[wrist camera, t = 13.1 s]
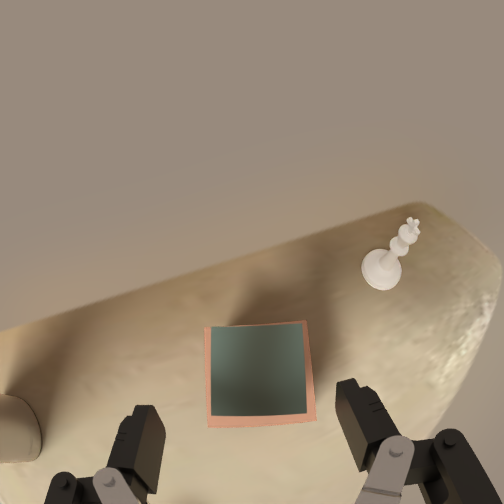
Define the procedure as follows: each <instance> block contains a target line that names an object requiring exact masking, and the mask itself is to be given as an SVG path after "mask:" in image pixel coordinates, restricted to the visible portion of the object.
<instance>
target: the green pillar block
mask: <svg viewBox="0 0 504 504" xmlns="http://www.w3.org/2000/svg"><path fill="white" fill-rule="evenodd" d="M305 413H307V398H306V376H305V358H304V342H303V328H302V323H298V324H281V325H260V326H229V327H211V416H275V415H292V414H305Z"/></svg>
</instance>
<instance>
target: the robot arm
mask: <svg viewBox="0 0 504 504" xmlns="http://www.w3.org/2000/svg"><path fill="white" fill-rule="evenodd" d="M335 408H336V414H337V417H338V420H339V422H340V425H341V427H342V430H343V432H344V435H345V437H346V440H347V442H348V445H349V447H350V450H351V452H352V455H353V457H354V460H355V462H356V465H357V468H358V470H359V472H362V471H365V470H367V472H368V474H369V475H368V477H367V479H366V482H365V484H364V486H363V488H362V490H361V492H360V494H359V496H358V498H357V500H356V502H355V504H399V503H400V500H401V492H402V489H403V486H404V485H412V484H418V486H419V488H420V490H421V493H422V495H423V498H424V500H425V503H426V504H502V502H501V500H500V498H499V496H498V494H497V492H496V490H495V488H494V487H493V485H492V483H491V481H490V479H489V478H488V476H487V474H486V472H485V470H484V469H483V467H482V465H481V464H480V462H479V460H478V458H477V457H476V455H475V454H474V452H473V450H472V448H471V447H470V445H469V443H468V442H467V440H466V439H465V437H464V435H463V434H462V433H461V432H460V431H458V430H456V429H445V430H442V431H441V432H439V433H438V434H437V435H436V437H435V438H434V439H427V440H420V441H413V440H410V439H409V438H407V437H405V436H402V435H401V434H400V433H399V431H398V429H397V428H396V426H395V424H394V422H393V421H392V419H391V417H390V415H389V414H388V412H387V410H386V409H385V407H384V405H383V403H382V402H381V400H380V398H379V397H378V395H377V393H376V392H375V391H374V390H372V389H371V388H369V387H368V386H365V387H362V388H360V387H359V385H358V383H357V381H356V380H355V379H354V378H352V379H348V380H344V381H340V382H337V385H336V401H335ZM165 438H166V432H165V427H164V425H163V423H162V421H161V419H160V417H159V415H158V413H157V411H156V409H155V407H154V406H153V405H136V406H135V408H134V411H133V414H132V416H127V417H126V418H125V419H124V420H123V421H122V422H121V424H120V426H119V429H118V434H117V435H116V438H115V441H114V444H113V447H112V451H111V454H110V457H109V460H108V463H107V466H106V468H103V469H100V470H99V471H97V472H96V474H95V475H94V476H93V477H86V478H76V477H75V476H73V475H72V474H71V473H69V472H60V473H58V474H56V475H55V476H54V477H53V478H52V480H51V483H50V487H49V490H48V493H47V496H46V499H45V503H44V504H149V502H148V501H147V494H156V492H157V486H158V479H159V473H160V467H161V461H162V455H163V450H164V444H165ZM40 449H41V433H40V428H39V425H38V422H37V419H36V417H35V415H34V413H33V411H32V410H31V408H30V407H29V405H28V404H27V403H26V402H25V401H23V400H22V399H21V398H18V397H14V396H9V395H4V394H0V463H17V462H30V461H33V460H35V459H36V458H37V457H38V455H39V453H40Z"/></svg>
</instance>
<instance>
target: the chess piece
mask: <svg viewBox="0 0 504 504" xmlns="http://www.w3.org/2000/svg"><path fill="white" fill-rule="evenodd" d="M406 221H407V223H408V224H404V225H402V226H401V227H400V228H399V231H398V236H396V237H394V238H392V239H391V241H390V250H389V251H387V250H384V249H375V250H372V251H371V252H369V253H368V254H367V255H366V256H365V257H364V259H363V261H362V266H361V269H362V274H363V277H364V278H365V280H366V281H367V283H368V284H369V285H371V286H372V287H374V288H376V289H379V290H389V289H391V288H393V287H394V286H395V285H396V284H397V283H398V281H399V280H400V277H401V273H402V269H401V265H400V262H399V260H398V259H397V258H398V256H404V255H406V254H407V253H408V250H409V245H411V244H413V243H415V242H416V240H417V238H418V235H419V234H420V233H421V232H420V231H419V229H418V227H417V226H418V225H419V223H420V222H419V220H418V219H415V220H413V219H412V217H410V218H408V219H407V220H406Z"/></svg>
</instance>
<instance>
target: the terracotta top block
mask: <svg viewBox="0 0 504 504" xmlns="http://www.w3.org/2000/svg"><path fill="white" fill-rule="evenodd" d="M298 323H302V328H303V342H304V358H305V376H306V398H307V413H305V414H292V415H275V416H211V327H204V338H205V376H206V401H207V421H208V428H229V427H257V426H272V425H283V424H293V423H302V422H310V421H317V419H316V406H315V395H314V384H313V374H312V364H311V354H310V345H309V336H308V328H307V320H301V321H291V322H280V323H268V324H254V325H239V326H260V325H281V324H298ZM222 327H229V326H222Z"/></svg>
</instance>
